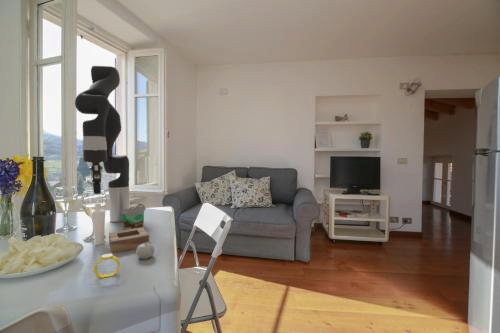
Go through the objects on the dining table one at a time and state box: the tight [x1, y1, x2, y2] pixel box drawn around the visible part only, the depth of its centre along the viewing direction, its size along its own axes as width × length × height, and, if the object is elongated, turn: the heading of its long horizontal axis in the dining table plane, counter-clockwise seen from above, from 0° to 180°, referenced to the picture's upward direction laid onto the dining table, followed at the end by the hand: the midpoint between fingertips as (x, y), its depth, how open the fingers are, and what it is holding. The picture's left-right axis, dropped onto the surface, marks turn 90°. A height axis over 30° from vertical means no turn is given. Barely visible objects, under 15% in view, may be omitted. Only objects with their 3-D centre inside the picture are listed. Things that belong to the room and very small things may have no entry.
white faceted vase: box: [90, 203, 107, 246], centre depth 91 cm, size 5×4×15 cm
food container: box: [121, 203, 146, 230], centre depth 110 cm, size 12×6×10 cm, turn 168°
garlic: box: [135, 241, 155, 260], centre depth 78 cm, size 6×5×5 cm
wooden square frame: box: [108, 226, 150, 254], centre depth 90 cm, size 12×12×4 cm
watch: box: [93, 253, 121, 279], centre depth 66 cm, size 6×3×6 cm, turn 112°
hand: (97, 192), depth 91 cm, fingers open, 8 cm apart
